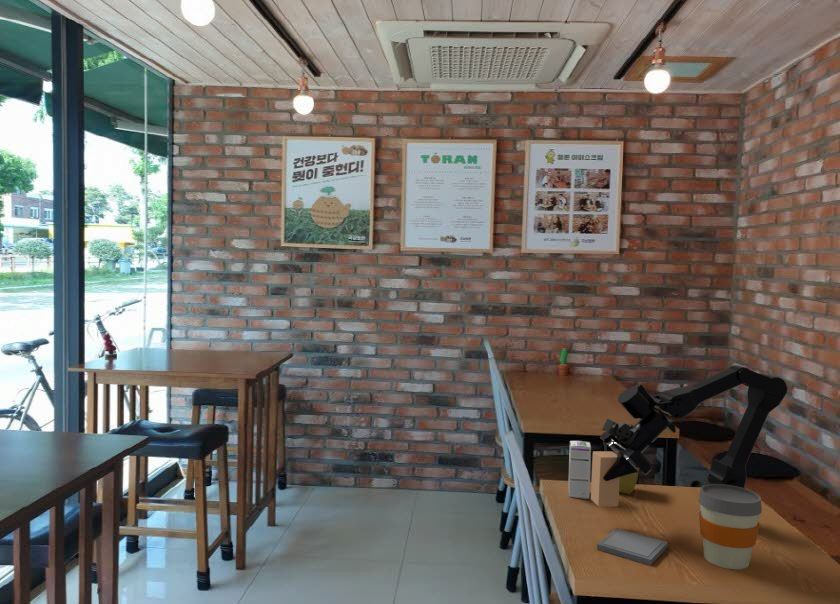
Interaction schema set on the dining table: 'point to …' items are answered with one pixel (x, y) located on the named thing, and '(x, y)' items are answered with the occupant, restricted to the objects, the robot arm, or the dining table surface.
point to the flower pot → (628, 482)
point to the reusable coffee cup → (729, 524)
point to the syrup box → (579, 469)
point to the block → (601, 489)
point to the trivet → (633, 546)
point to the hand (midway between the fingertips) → (600, 476)
